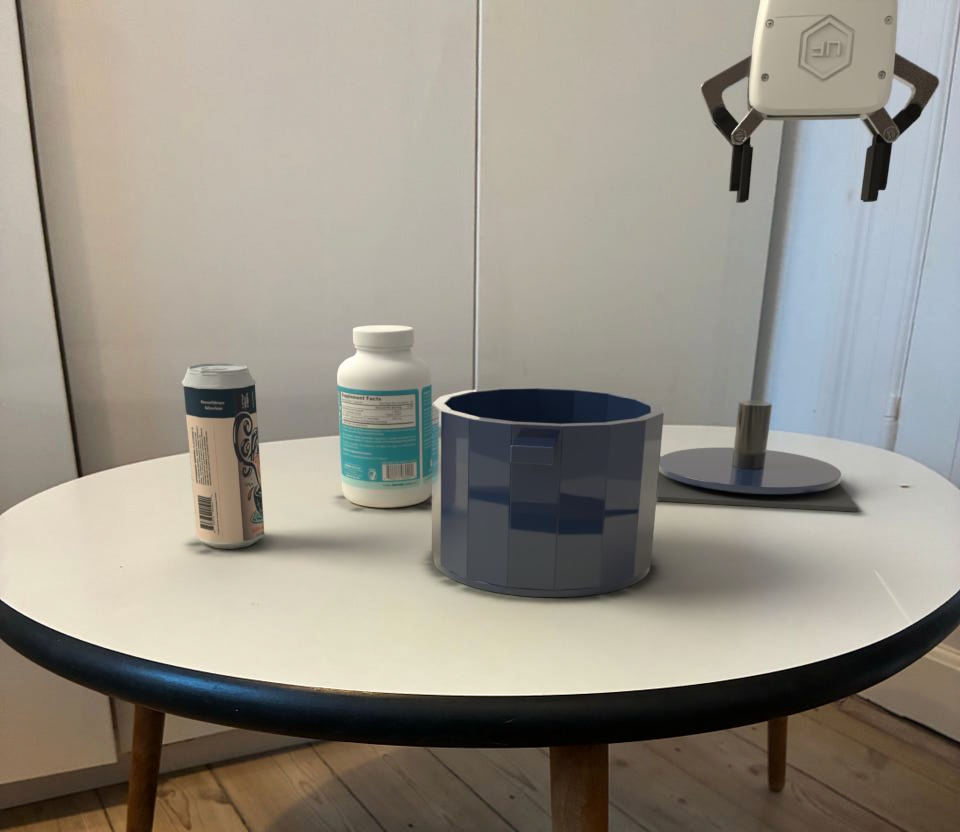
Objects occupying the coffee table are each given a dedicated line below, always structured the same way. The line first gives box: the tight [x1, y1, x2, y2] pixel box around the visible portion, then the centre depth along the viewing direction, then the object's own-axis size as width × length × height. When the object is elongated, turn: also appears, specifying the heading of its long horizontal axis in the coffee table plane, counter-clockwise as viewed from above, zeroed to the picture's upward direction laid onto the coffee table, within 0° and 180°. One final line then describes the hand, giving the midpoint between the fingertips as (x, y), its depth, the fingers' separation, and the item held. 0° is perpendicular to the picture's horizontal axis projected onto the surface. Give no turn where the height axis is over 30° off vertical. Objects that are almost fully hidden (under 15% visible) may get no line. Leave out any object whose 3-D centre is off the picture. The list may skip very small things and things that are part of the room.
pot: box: [431, 386, 665, 598], centre depth 67 cm, size 15×20×10 cm
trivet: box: [656, 455, 858, 513], centre depth 91 cm, size 16×16×1 cm
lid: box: [659, 399, 842, 495], centre depth 90 cm, size 16×16×7 cm
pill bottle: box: [336, 324, 433, 509], centre depth 82 cm, size 8×7×14 cm
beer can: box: [181, 362, 266, 550], centre depth 70 cm, size 5×5×12 cm
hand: (804, 201), depth 80 cm, fingers open, 9 cm apart
